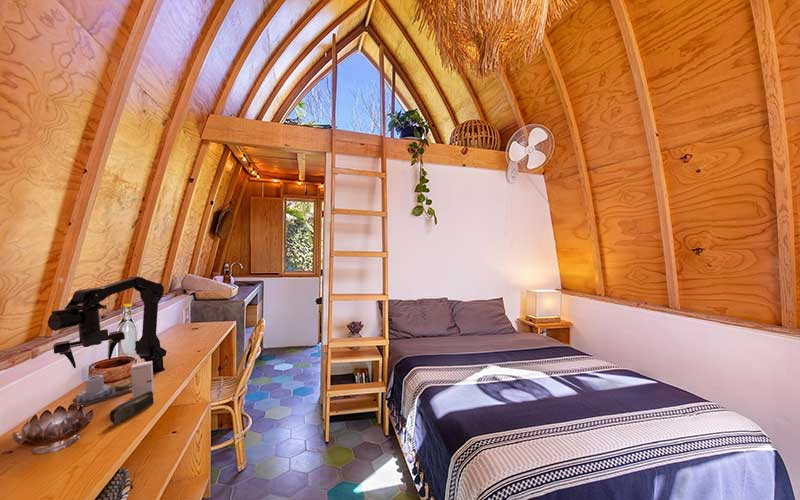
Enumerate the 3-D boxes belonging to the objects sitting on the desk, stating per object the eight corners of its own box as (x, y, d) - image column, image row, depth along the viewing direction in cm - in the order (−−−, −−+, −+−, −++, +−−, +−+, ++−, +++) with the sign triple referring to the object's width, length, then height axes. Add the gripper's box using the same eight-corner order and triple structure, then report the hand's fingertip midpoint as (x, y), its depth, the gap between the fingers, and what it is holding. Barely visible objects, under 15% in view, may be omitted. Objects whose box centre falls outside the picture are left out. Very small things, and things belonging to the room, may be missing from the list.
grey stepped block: (110, 386, 124) (109, 370, 124) (113, 393, 118) (112, 376, 118) (77, 396, 117) (75, 379, 117) (79, 403, 111) (77, 385, 111)
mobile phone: (147, 389, 112) (103, 412, 97) (155, 389, 111) (111, 412, 96) (148, 403, 112) (104, 428, 97) (155, 403, 111) (112, 428, 97)
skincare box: (132, 400, 114) (129, 368, 113) (134, 395, 118) (131, 364, 117) (153, 395, 117) (151, 363, 117) (154, 390, 121) (152, 359, 121)
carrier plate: (137, 380, 131) (136, 369, 131) (142, 388, 124) (142, 377, 123) (75, 398, 118) (74, 386, 118) (77, 408, 110) (76, 395, 110)
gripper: (52, 332, 104) (56, 378, 105) (125, 320, 118) (128, 360, 119) (51, 327, 112) (55, 370, 112) (121, 316, 126) (124, 354, 126)
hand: (92, 363), depth 117 cm, fingers open, 9 cm apart
